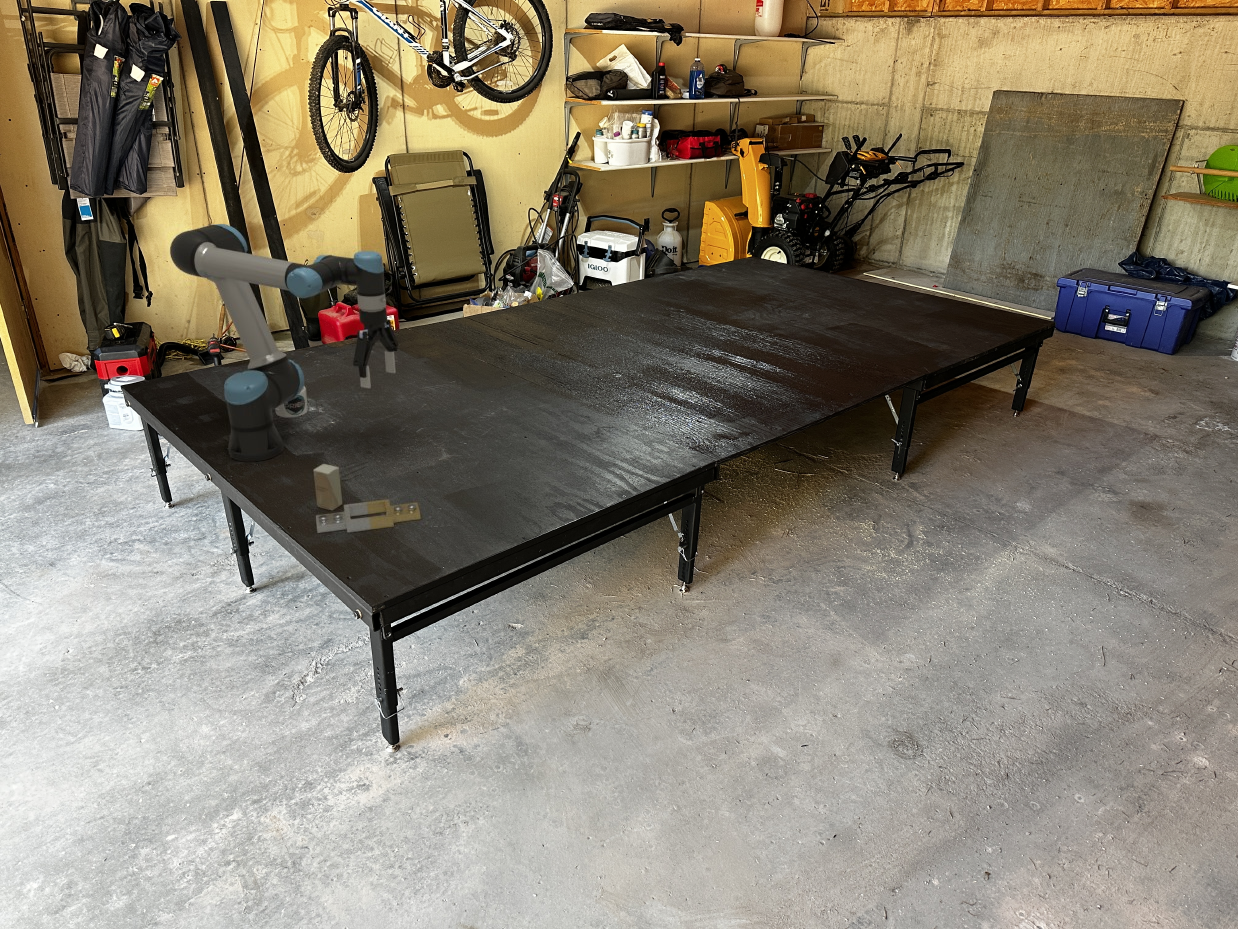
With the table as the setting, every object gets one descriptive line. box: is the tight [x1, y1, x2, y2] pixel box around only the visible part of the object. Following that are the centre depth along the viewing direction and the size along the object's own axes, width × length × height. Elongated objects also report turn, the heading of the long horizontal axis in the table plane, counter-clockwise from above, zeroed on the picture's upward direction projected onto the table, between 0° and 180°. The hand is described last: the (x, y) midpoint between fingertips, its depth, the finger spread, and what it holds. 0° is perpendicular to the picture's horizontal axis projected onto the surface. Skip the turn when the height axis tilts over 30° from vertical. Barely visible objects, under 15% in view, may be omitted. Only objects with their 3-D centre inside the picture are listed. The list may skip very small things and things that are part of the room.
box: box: [313, 463, 343, 511], centre depth 219 cm, size 5×4×11 cm
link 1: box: [315, 501, 372, 534], centre depth 213 cm, size 13×9×3 cm
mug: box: [274, 385, 309, 419], centre depth 274 cm, size 13×10×8 cm
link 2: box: [366, 499, 422, 530], centre depth 217 cm, size 13×9×3 cm
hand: (378, 379), depth 243 cm, fingers open, 13 cm apart
